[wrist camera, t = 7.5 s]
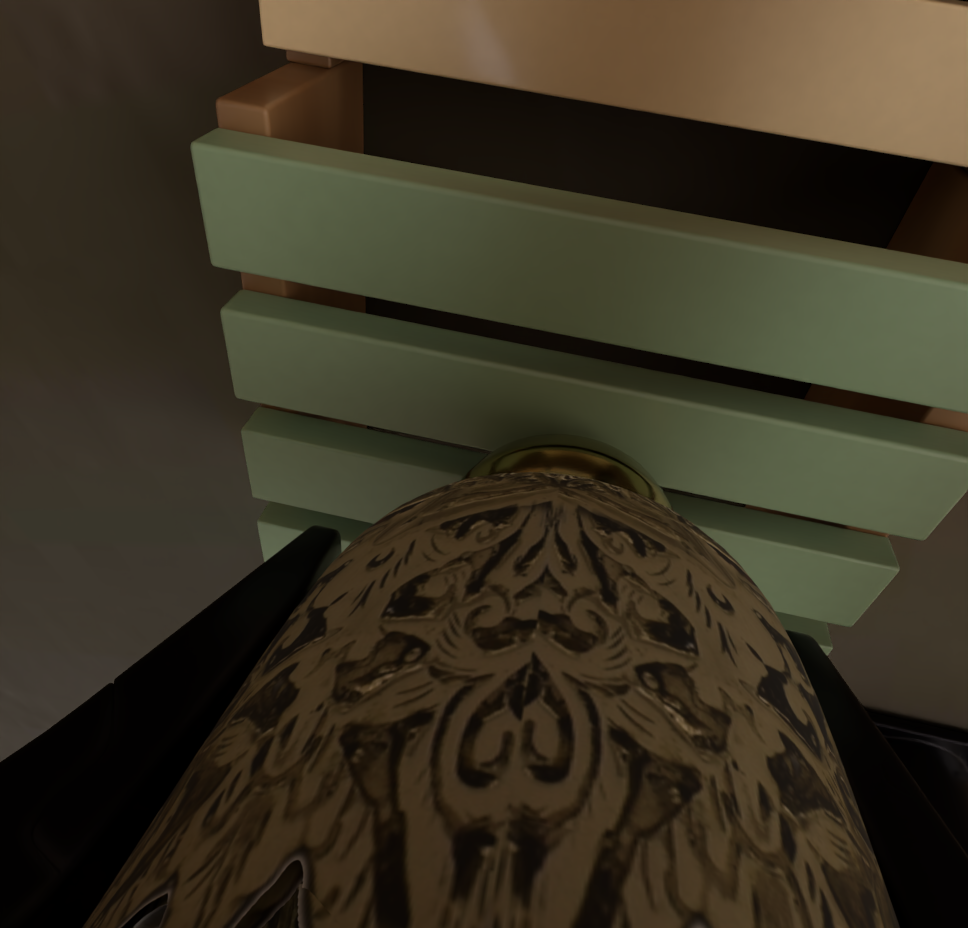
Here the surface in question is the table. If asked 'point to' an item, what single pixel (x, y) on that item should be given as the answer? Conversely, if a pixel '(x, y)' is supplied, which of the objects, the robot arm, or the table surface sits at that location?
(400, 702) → the ornate brown dome cover
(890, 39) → the rack
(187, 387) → the table surface
